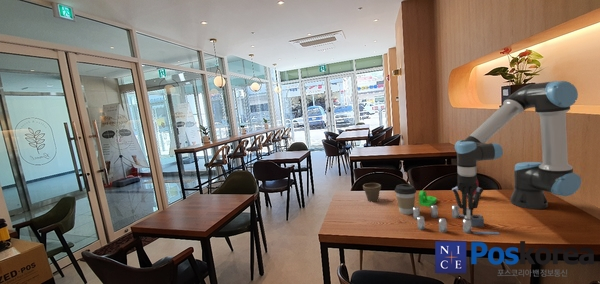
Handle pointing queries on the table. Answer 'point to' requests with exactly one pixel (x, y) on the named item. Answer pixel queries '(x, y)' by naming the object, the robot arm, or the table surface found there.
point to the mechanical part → (426, 199)
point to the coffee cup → (405, 198)
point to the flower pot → (372, 191)
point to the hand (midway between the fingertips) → (467, 221)
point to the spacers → (441, 219)
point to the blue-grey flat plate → (483, 232)
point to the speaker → (477, 221)
